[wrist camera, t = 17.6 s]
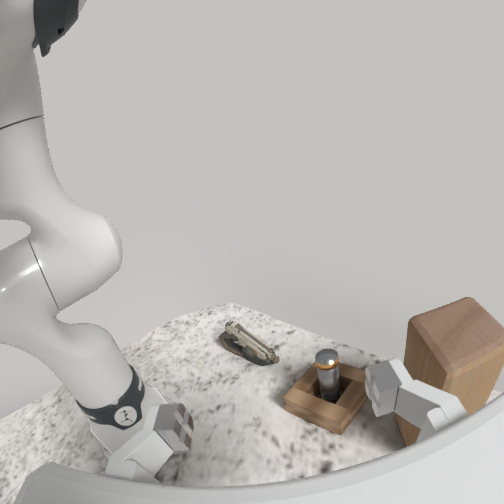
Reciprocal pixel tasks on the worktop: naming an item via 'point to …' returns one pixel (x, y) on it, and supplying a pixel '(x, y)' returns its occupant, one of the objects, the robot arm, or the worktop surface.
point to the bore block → (321, 411)
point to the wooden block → (454, 355)
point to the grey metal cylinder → (328, 375)
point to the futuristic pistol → (247, 345)
